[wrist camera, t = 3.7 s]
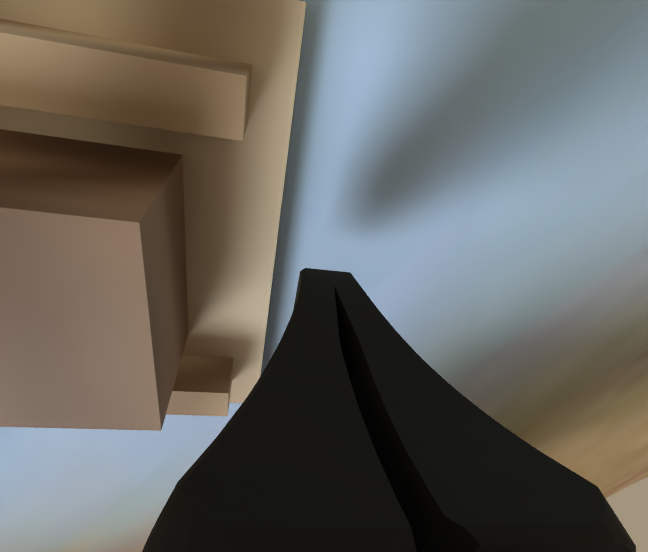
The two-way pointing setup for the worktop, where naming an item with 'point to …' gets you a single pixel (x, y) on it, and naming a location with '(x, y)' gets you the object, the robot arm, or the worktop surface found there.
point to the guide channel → (178, 142)
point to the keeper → (89, 283)
